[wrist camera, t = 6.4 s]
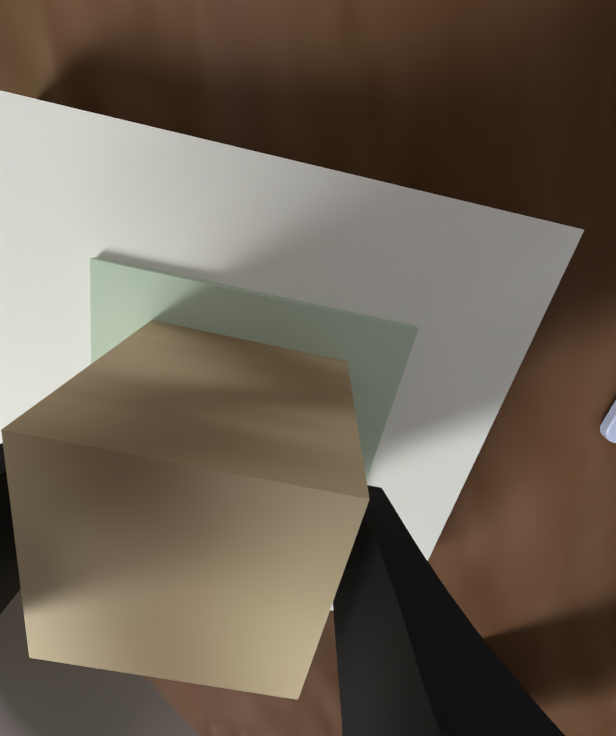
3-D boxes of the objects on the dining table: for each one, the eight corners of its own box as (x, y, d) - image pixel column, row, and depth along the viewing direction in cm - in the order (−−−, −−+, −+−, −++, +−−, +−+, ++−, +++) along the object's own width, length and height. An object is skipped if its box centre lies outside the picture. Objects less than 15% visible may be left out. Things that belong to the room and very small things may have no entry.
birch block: (346, 360, 10) (369, 499, 5) (306, 507, 12) (297, 699, 7) (151, 320, 10) (1, 429, 5) (143, 477, 12) (29, 657, 7)
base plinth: (529, 223, 11) (592, 230, 9) (388, 563, 17) (400, 629, 14) (31, 104, 10) (-65, 73, 8) (55, 504, 16) (5, 563, 13)
